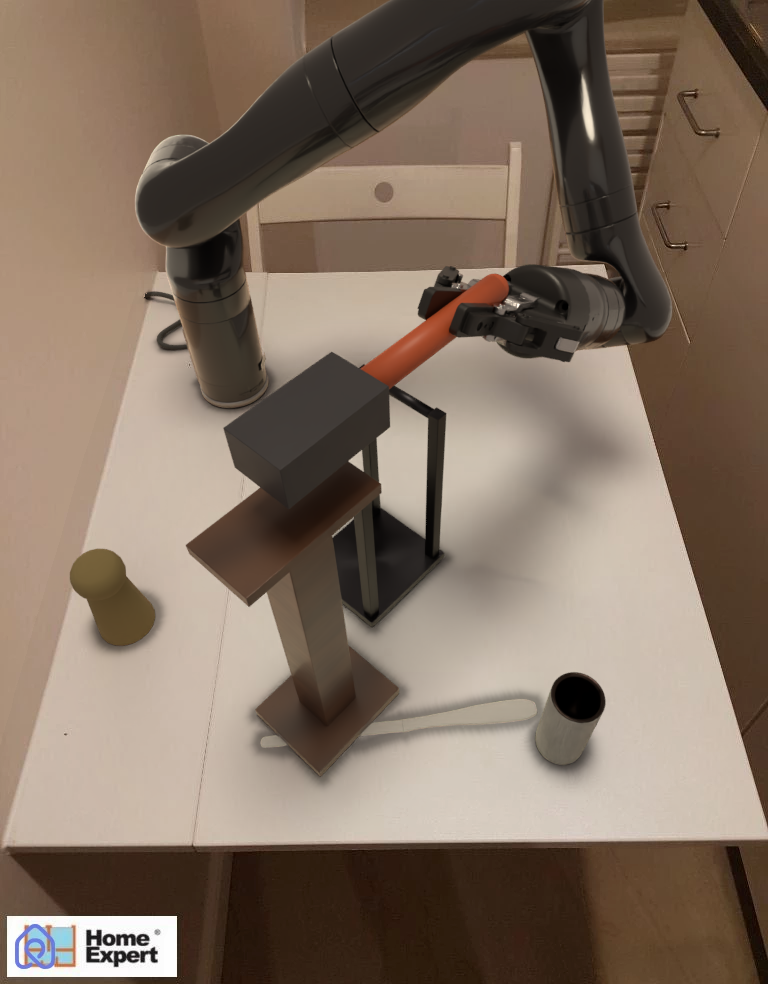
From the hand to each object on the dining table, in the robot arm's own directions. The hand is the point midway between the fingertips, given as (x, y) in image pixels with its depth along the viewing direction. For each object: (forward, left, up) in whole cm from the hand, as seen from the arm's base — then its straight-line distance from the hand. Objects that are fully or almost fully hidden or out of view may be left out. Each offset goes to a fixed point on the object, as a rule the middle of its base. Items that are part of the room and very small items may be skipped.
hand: (441, 312), depth 49 cm
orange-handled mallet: (0, -5, -3) cm, 6 cm away
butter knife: (+7, -13, -39) cm, 41 cm away
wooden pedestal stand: (0, -16, -38) cm, 41 cm away
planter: (+19, -4, -38) cm, 43 cm away
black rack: (-8, -1, -38) cm, 39 cm away
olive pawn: (-23, -24, -38) cm, 51 cm away
